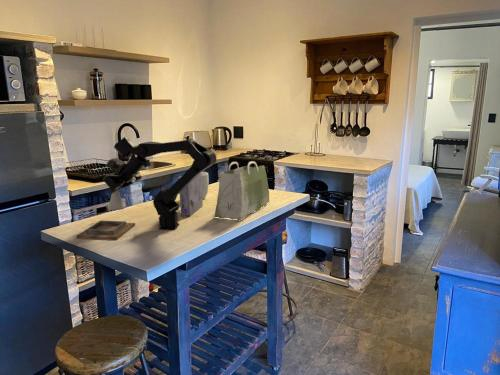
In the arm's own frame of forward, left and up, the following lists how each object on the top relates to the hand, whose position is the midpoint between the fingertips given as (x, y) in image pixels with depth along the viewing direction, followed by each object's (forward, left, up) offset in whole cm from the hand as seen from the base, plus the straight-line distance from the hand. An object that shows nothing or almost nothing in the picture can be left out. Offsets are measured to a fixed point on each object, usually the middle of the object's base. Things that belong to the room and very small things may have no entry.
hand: (112, 191), depth 154 cm
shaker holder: (-2, +11, -13) cm, 18 cm away
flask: (-1, 0, -7) cm, 7 cm away
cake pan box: (-28, -20, -14) cm, 37 cm away
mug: (-25, -43, -14) cm, 51 cm away
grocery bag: (-52, -23, -14) cm, 58 cm away
